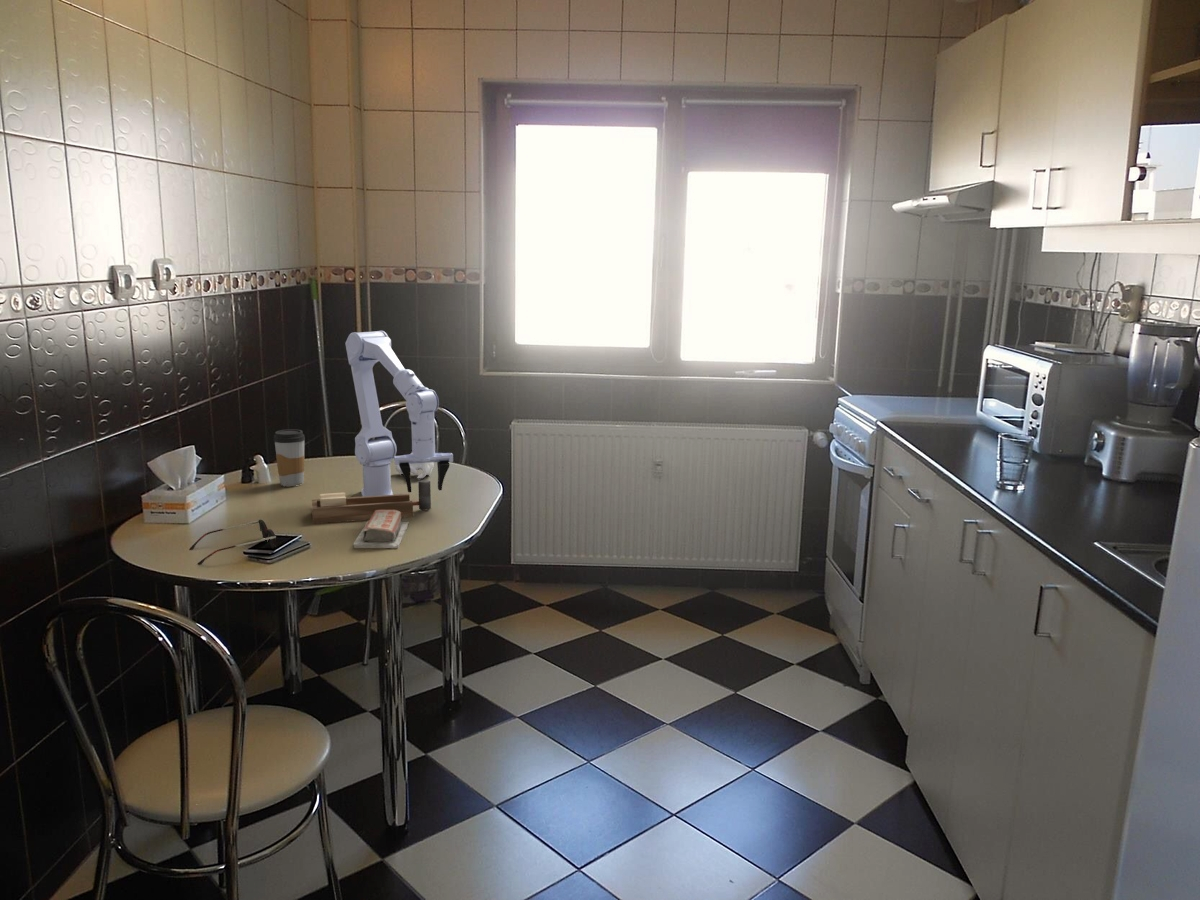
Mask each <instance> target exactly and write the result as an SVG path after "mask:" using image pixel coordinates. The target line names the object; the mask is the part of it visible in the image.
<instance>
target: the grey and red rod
mask: <svg viewBox="0 0 1200 900" xmlns="http://www.w3.org/2000/svg"><path fill="white" fill-rule="evenodd" d="M417 483H418V501H417V500H416V501H413V507H414V506H418V510H422V511H423V510H424V511H427V510H431V509H432V502H431V501H432V497H431V491H432V490H431V481H430V480H428V479H426V480H425V479H423V480H422V479H421V480H418V482H417ZM346 498H347V497H346V492H333V493H332V492H331V493H329V492H328V493H319V499H320V505H321V507H326V506H341V505H346Z"/></svg>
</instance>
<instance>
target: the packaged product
mask: <svg viewBox="0 0 1200 900" xmlns="http://www.w3.org/2000/svg"><path fill="white" fill-rule="evenodd" d="M408 526H409V521H402V517H401V512H400V511H397V510H394V509H393V510H375V512H374V513H373V514H372V516H371V519H370V520H366V523H365V524H364V526H363V528H362V529H361V531H360V532H359V534H358V536H357V537H356V539H355V541H354V542H353V549H354V548H398V549H399V547H400V546H401V542H402V540H403V538H404V536H405V534H406V531H407V528H408Z"/></svg>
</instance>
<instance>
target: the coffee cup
mask: <svg viewBox="0 0 1200 900" xmlns="http://www.w3.org/2000/svg"><path fill="white" fill-rule="evenodd" d="M303 432H304V431H303V430H301V429H290V428H289V429H281V430H277V431H275V432H274V435H273V442H274V447H275V454H276V455H275V457H276V465H277V472H278V477H279V484H280V485H281V486H282V485H283V486H282V487H285V486H294V487H297V486H296V485H300V484H302V483H303V484H304V482H305V440H306V438H305V434H304V433H303ZM303 484H302V485H303ZM300 486H301V485H300Z"/></svg>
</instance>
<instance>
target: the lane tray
mask: <svg viewBox="0 0 1200 900" xmlns="http://www.w3.org/2000/svg"><path fill="white" fill-rule="evenodd" d="M410 498H411V497H410V493H399V494H398V493H397V494H393V495H380V496H364V497H362V496H352V497H351V496H350V497H349V496H348V497H346V505H341V506H326V507H321V505H320V498H319V499H318V498H317V499H311V508H312V524H313V523H316V524H327V523H328V522H330V523H341V521H343V522H354V521H369V520H370V519H371V516H372V514H373V513H374V512H375V510H393V509H394V510H397V511H400V512H401V518H411V517H412V518H413V517H414V506H413V502H414V501H413V500H410Z"/></svg>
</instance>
